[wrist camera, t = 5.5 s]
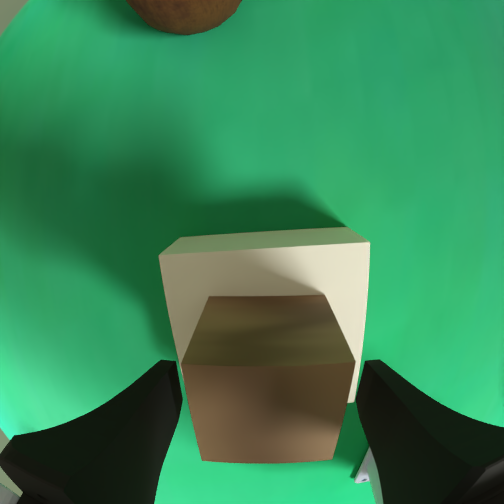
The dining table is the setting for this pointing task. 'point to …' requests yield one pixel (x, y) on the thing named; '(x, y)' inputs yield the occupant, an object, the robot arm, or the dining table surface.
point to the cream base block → (269, 276)
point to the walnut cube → (267, 379)
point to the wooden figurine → (184, 14)
